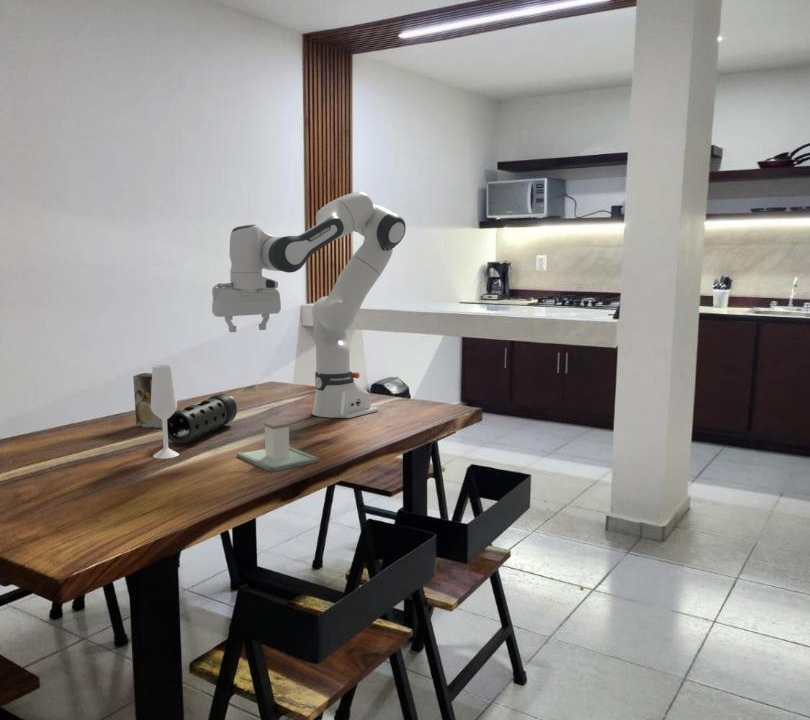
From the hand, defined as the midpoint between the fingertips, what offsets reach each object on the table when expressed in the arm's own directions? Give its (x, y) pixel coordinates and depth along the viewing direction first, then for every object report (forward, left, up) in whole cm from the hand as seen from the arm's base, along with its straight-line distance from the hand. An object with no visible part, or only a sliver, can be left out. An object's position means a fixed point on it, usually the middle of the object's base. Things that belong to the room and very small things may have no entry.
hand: (247, 330), depth 208 cm
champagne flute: (+27, +4, -31) cm, 42 cm away
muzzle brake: (+10, -10, -32) cm, 34 cm away
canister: (+6, +26, -30) cm, 40 cm away
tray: (+6, +26, -31) cm, 41 cm away
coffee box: (+17, -31, -31) cm, 47 cm away
